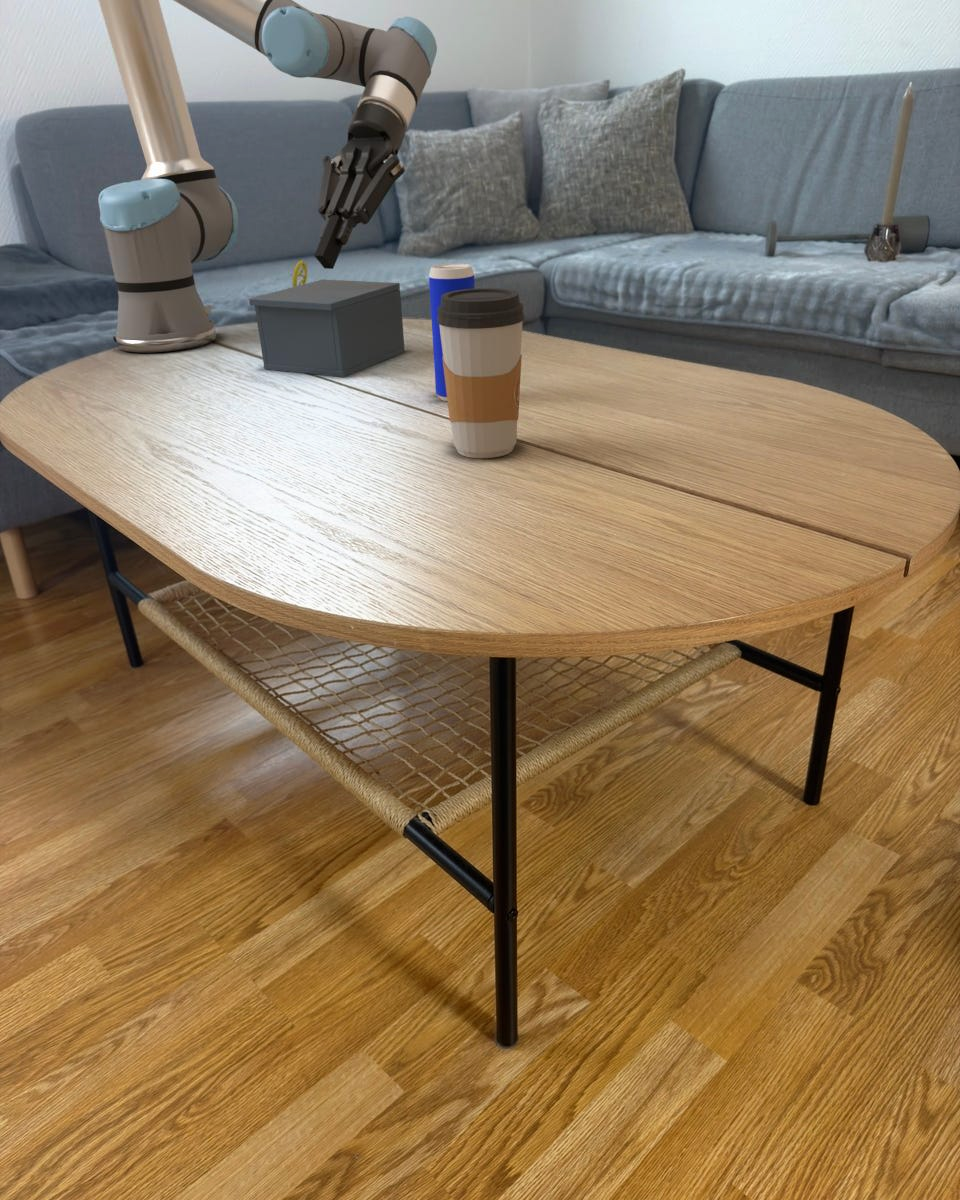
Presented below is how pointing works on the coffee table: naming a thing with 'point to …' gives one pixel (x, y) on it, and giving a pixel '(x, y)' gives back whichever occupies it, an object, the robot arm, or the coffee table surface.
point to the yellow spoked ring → (299, 273)
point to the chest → (331, 336)
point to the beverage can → (440, 283)
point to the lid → (325, 294)
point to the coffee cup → (482, 368)
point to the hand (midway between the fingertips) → (323, 262)
